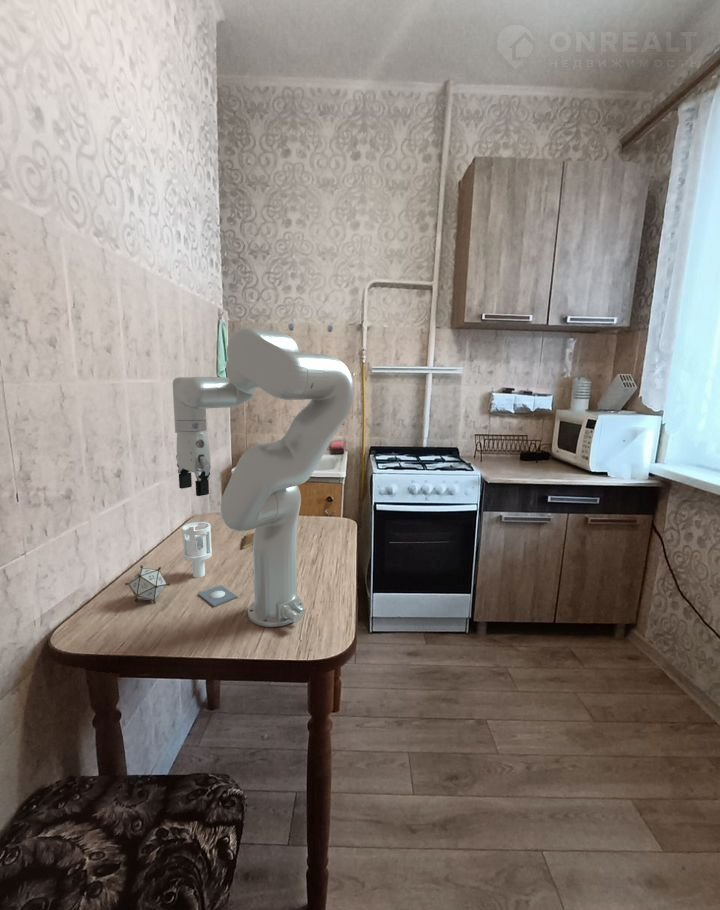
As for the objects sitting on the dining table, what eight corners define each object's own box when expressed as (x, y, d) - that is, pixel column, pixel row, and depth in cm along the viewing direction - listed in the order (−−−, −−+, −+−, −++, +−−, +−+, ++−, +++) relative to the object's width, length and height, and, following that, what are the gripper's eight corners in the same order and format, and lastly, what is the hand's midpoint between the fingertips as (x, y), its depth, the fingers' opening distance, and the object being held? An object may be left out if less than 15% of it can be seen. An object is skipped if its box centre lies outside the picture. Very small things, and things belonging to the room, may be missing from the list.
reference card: (237, 597, 100) (237, 595, 100) (214, 607, 96) (213, 605, 96) (220, 586, 106) (220, 584, 106) (198, 594, 102) (198, 592, 101)
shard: (242, 551, 129) (242, 545, 129) (227, 545, 134) (227, 540, 134) (269, 541, 138) (269, 536, 138) (254, 535, 142) (254, 530, 142)
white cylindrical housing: (180, 581, 108) (177, 526, 106) (191, 569, 115) (188, 517, 113) (207, 581, 109) (204, 526, 106) (216, 569, 115) (214, 518, 113)
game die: (143, 612, 100) (129, 574, 102) (178, 595, 103) (163, 558, 105) (129, 613, 92) (114, 572, 94) (168, 594, 94) (152, 554, 97)
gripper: (221, 428, 102) (223, 495, 105) (190, 422, 114) (193, 482, 117) (191, 430, 97) (195, 501, 100) (162, 424, 108) (165, 487, 111)
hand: (193, 491), depth 108 cm, fingers open, 9 cm apart
